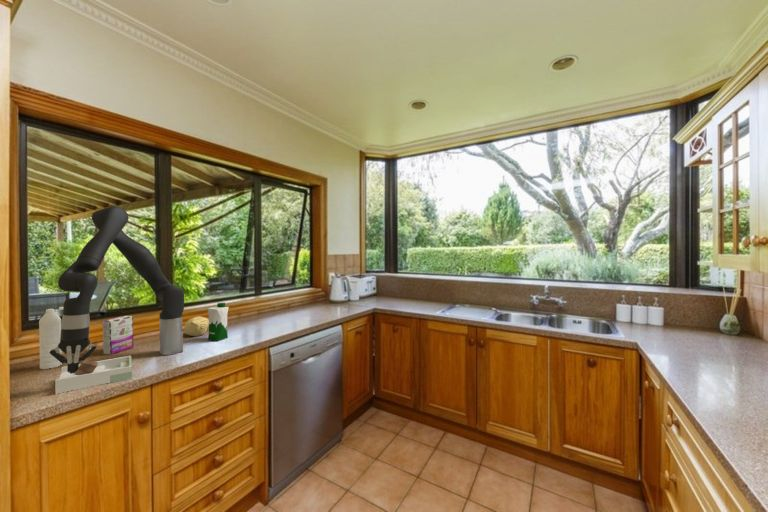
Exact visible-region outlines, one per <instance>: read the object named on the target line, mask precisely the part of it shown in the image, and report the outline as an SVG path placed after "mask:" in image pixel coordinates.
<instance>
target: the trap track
mask: <svg viewBox="0 0 768 512" xmlns="http://www.w3.org/2000/svg"><path fill="white" fill-rule="evenodd" d="M132 361H133V360H132V355H127V356H120V357H115V358H110V359H103V360H97V361H95V362H98V365H97V367H96V368H95V370H94V371H93V373H89V374H84V375H75V373H76V372H75V373H72V374H70V372H67V367H68V365H67V366H61V373H60V376H58V378H57V379H55V388H54V389H55V395H59V394H58V393H60V394H63V393H62V392H64V393H68V392H67V391H69V392H72V391H71V390H74V391H78V390H77V389H79V390H83V389H82V388H84V389H87V388H86V387H89V388H92V387H91V386H94V387H97V386H96V385H99V384H104V383H109V384H111V383H110V382H114V383H116V382H115V381H119V382H122V381H121V380H124V381H128V380H127V379H129V380H131V379H130V378H132V379H133V362H132ZM80 365H81V363H79V366H80ZM78 368H79V367H78ZM104 385H105V384H104ZM99 386H100V385H99Z"/></svg>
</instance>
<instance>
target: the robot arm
mask: <svg viewBox="0 0 768 512" xmlns="http://www.w3.org/2000/svg"><path fill="white" fill-rule="evenodd" d="M91 220H92V224H93V225H94V226H95V227H96V228H97V229H98V231H97V233H96V234H95V235H93V236H92V238H91V239H89V241H88V242H87V243H86V244H85V245H84V246H83V248H82V249H81V251H80V252H79V255H78V257H77V258H76V260H75V261H74V262H73V263H72V264H71V265H69V267H68V268H67V269H66V270H64V271H63V272H62V274H60V277H59V278H58V280H57V286H58V288H59V290H61V291H62V292H75V293H76V292H79V294H78V295H77V296H76V297H70V298H67V299H65V300H64V301H63V305H62V307H63V311H62V312H63V313H62V318H61V337H60V343H59V344H58V347H56V348H54V349H52V350H51V351H50V354H51V355H52V356H54V357H55V358H56V359H57V360H58V361H60V362H61V363H62V364H67V366H68V367H67V372H70V374H72V373H75V372H76V371H77V370H78V367H79V364H80V362H83V360H85V359H87V358H88V357H89V356H91V354H92V353H93V352H94V351H95V350H96V349H97V347H98V346H97V345H96V344H93V343H91V340H90V339H89V337H90V335H89V334H90V323H91V319H90V308H91V301H92V299H93V295H94V293H95V291H96V289H97V287H98V284H99V283H98V277H97V276H96V275H95V274H94V273H90V272H96V271H97V270H98V269H99V268H100V266H101V265H102V263H103V260H104V258H105V256H106V254H107V252H108V250H109V248H110V247H111V246H112V244H113V245H114V247H116V249H117V250H118V251H119V252H120V253H121V254H122V256H123V257H124V258H125V259H126V261H127V262H128V263H129V264H130V265H131V267H132V268H133V269H134V270H135V271H136V273H138V274H139V275H140V277H141V278H142V279H143V280H144V281H145V282H147V284H148V285H149V286H150V288H151V289H152V291H153V293H154V294H155V296H156V298H157V299H158V300H159V301H160V302H161V303H162V310H161V312H159V354H160V355H163V356H168V355H175V354H178V353H183V351H184V332H183V313H184V310H185V292H184V289H183V288H182V287H180V286H178V285H173V284H172V283H171V282H170V280H168V279H167V277H166V276H165V275H164V273H163V272H162V269H161V267H160V264H159V262H158V260H157V258H156V257H155V256H154V254H153V253H152V252H151V250H150V249H149V248H148V247H147V246H145V245H144V244H142V243H140V242H138V241H136V240H135V239H133V238H131V237H130V236H129V235H127V233H125V232H124V231H123V229H124V228H125V226H126V225H127V224H128V222H129V215H128V212H127V211H126V210H125V209H124V208H123V207H121V206H118V205H111V206H107V207H104V208H101V209H98V210H95V211H94V212H92V214H91ZM59 349H61V351H62V352H63V353H64V354H65V355H66V357H65V356H64V355H63V354H60V353H59V352H60V350H59ZM85 349H87V351H86V352H85V353H84V354H82V356H81V353H82V352H84V351H85ZM73 355H74V356H73Z"/></svg>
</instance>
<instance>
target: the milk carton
mask: <svg viewBox="0 0 768 512" xmlns="http://www.w3.org/2000/svg"><path fill="white" fill-rule="evenodd" d="M229 308H230V307H229V306H227V305H226V302H218V303H217V305H216V306H211V307H207V308H206V309H207V313H208V319H209V326H208V339H207V340H208V341H214V342H219V341H223V340H226V339H228V337H229V336H228V334H229V333H228V313H229ZM225 338H226V339H225Z"/></svg>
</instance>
